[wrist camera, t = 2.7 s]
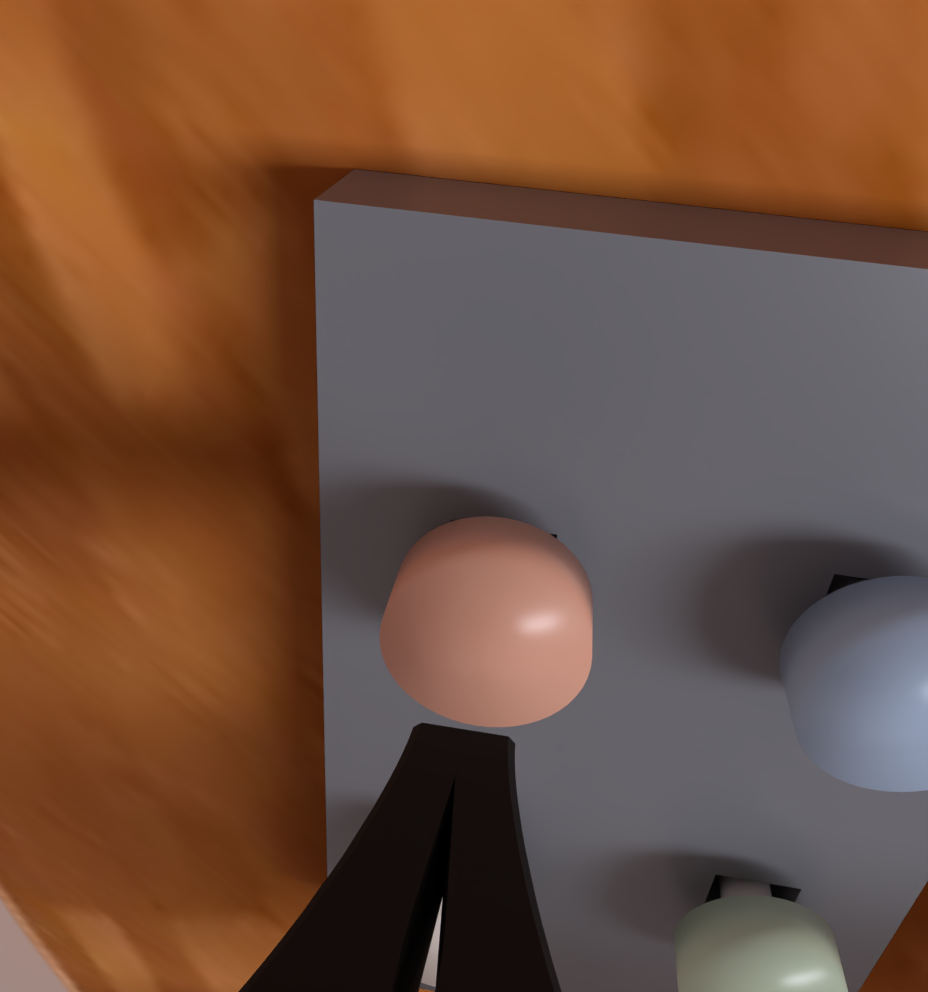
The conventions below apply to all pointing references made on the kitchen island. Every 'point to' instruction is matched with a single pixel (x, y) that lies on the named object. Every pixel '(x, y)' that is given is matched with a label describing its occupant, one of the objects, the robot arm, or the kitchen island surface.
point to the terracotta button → (489, 623)
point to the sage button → (755, 944)
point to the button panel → (630, 527)
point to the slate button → (863, 681)
